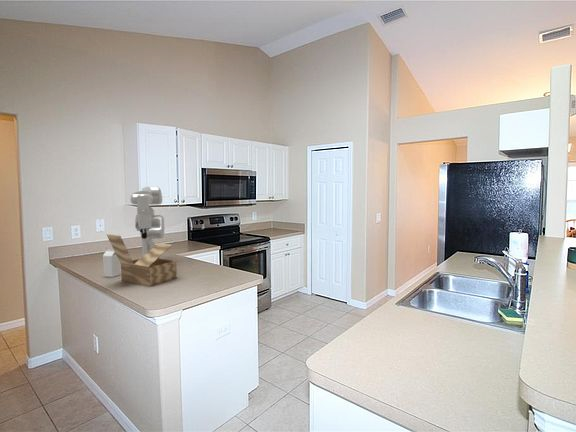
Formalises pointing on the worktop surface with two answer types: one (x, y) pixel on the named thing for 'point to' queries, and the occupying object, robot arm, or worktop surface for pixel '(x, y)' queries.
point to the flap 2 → (153, 255)
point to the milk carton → (110, 263)
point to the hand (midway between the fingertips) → (144, 238)
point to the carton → (149, 272)
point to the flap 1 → (120, 249)
